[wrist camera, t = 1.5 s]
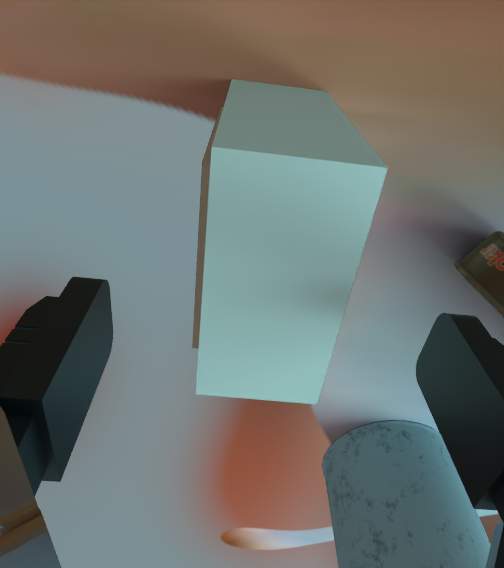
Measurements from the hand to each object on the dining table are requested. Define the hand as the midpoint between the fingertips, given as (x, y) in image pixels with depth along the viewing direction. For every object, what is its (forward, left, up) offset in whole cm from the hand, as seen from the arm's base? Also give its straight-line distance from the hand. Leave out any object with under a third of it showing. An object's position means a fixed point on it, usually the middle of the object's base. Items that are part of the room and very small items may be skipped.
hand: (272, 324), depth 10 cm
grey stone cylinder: (-12, +21, -12) cm, 27 cm away
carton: (0, 0, -11) cm, 11 cm away
